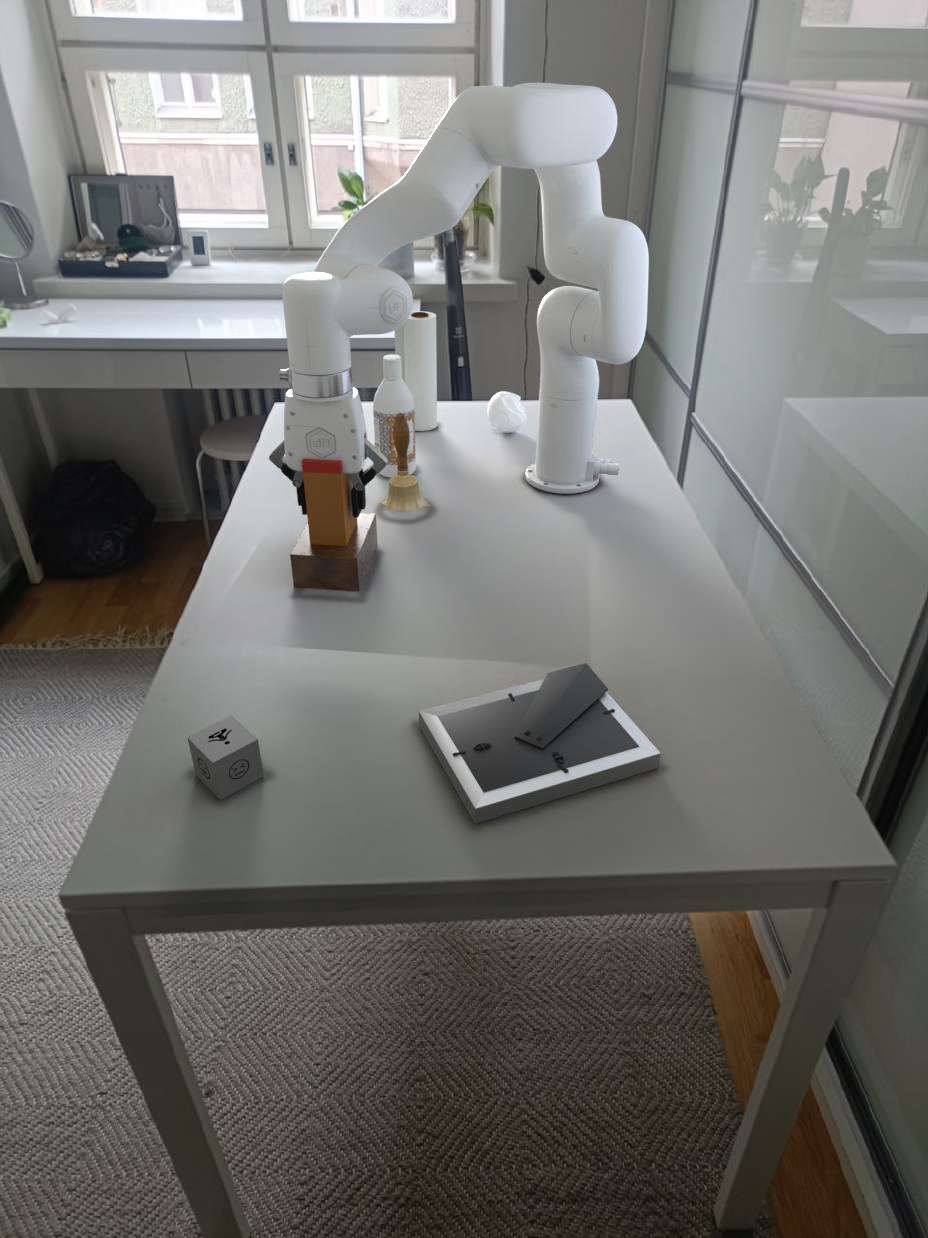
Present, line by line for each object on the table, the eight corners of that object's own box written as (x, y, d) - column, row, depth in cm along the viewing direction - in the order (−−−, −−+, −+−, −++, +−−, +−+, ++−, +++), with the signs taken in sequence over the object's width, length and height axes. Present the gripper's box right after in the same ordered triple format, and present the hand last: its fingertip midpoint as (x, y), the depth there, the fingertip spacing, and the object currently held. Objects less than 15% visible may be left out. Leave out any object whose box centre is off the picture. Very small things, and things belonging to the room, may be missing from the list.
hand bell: (370, 516, 138) (364, 420, 129) (391, 495, 145) (387, 402, 136) (418, 525, 136) (416, 427, 127) (438, 503, 142) (437, 408, 133)
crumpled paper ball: (526, 439, 165) (528, 399, 161) (486, 438, 166) (487, 398, 161) (525, 424, 172) (527, 385, 168) (487, 423, 172) (488, 384, 168)
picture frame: (584, 682, 103) (418, 725, 96) (586, 662, 101) (418, 705, 95) (658, 768, 91) (474, 824, 84) (661, 747, 89) (475, 803, 83)
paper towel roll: (443, 427, 170) (442, 315, 158) (417, 434, 167) (414, 320, 155) (423, 416, 175) (421, 306, 163) (397, 422, 172) (393, 311, 160)
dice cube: (238, 751, 92) (231, 715, 90) (263, 776, 89) (257, 739, 87) (195, 774, 90) (187, 737, 87) (220, 800, 87) (212, 762, 84)
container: (347, 536, 124) (394, 471, 117) (335, 560, 118) (385, 493, 112) (280, 492, 121) (325, 423, 115) (265, 515, 115) (312, 444, 109)
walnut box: (378, 553, 128) (375, 513, 125) (359, 600, 118) (357, 558, 114) (318, 549, 129) (314, 510, 125) (294, 596, 118) (289, 554, 115)
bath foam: (388, 482, 149) (383, 365, 138) (369, 468, 154) (362, 354, 143) (423, 473, 152) (421, 358, 141) (403, 459, 157) (399, 348, 146)
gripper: (244, 387, 106) (262, 520, 116) (385, 394, 104) (391, 528, 114) (262, 368, 112) (278, 496, 122) (396, 374, 110) (400, 503, 120)
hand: (332, 510), depth 118 cm, fingers open, 6 cm apart
